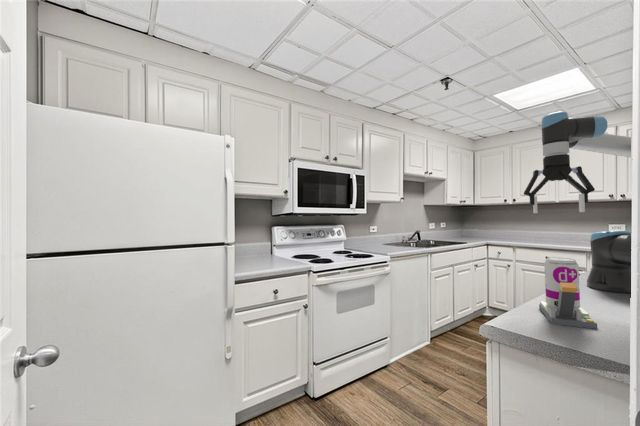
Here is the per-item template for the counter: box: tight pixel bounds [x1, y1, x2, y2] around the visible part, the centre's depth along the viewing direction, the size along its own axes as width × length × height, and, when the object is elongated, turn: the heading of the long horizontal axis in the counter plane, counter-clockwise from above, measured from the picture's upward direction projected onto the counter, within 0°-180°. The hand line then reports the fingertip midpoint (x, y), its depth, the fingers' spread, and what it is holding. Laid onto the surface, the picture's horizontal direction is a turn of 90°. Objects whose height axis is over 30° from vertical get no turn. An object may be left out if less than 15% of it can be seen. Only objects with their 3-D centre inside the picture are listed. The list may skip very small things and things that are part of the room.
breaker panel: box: [538, 300, 598, 330], centre depth 86 cm, size 10×14×4 cm
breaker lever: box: [555, 282, 577, 318], centre depth 81 cm, size 4×2×11 cm, turn 64°
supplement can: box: [543, 256, 581, 309], centre depth 88 cm, size 8×8×15 cm
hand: (558, 212), depth 104 cm, fingers open, 13 cm apart
